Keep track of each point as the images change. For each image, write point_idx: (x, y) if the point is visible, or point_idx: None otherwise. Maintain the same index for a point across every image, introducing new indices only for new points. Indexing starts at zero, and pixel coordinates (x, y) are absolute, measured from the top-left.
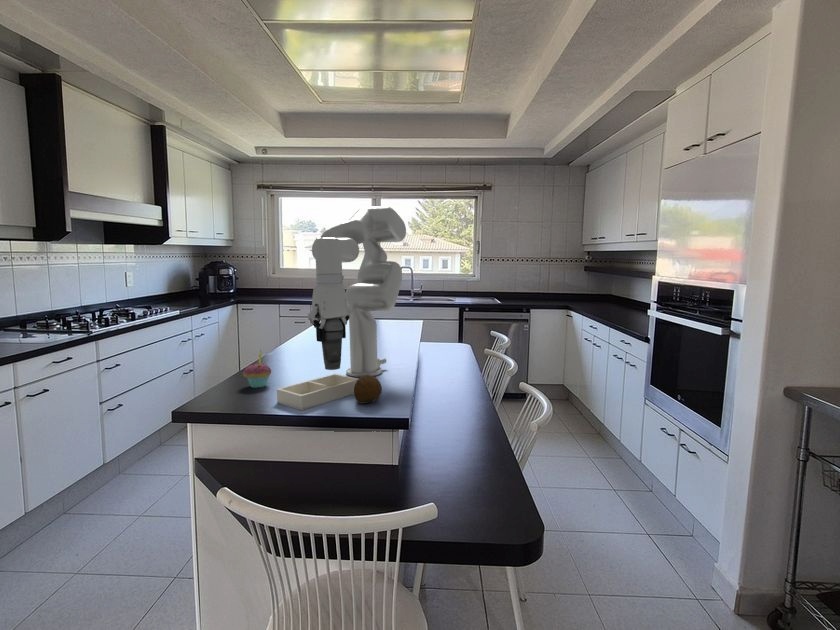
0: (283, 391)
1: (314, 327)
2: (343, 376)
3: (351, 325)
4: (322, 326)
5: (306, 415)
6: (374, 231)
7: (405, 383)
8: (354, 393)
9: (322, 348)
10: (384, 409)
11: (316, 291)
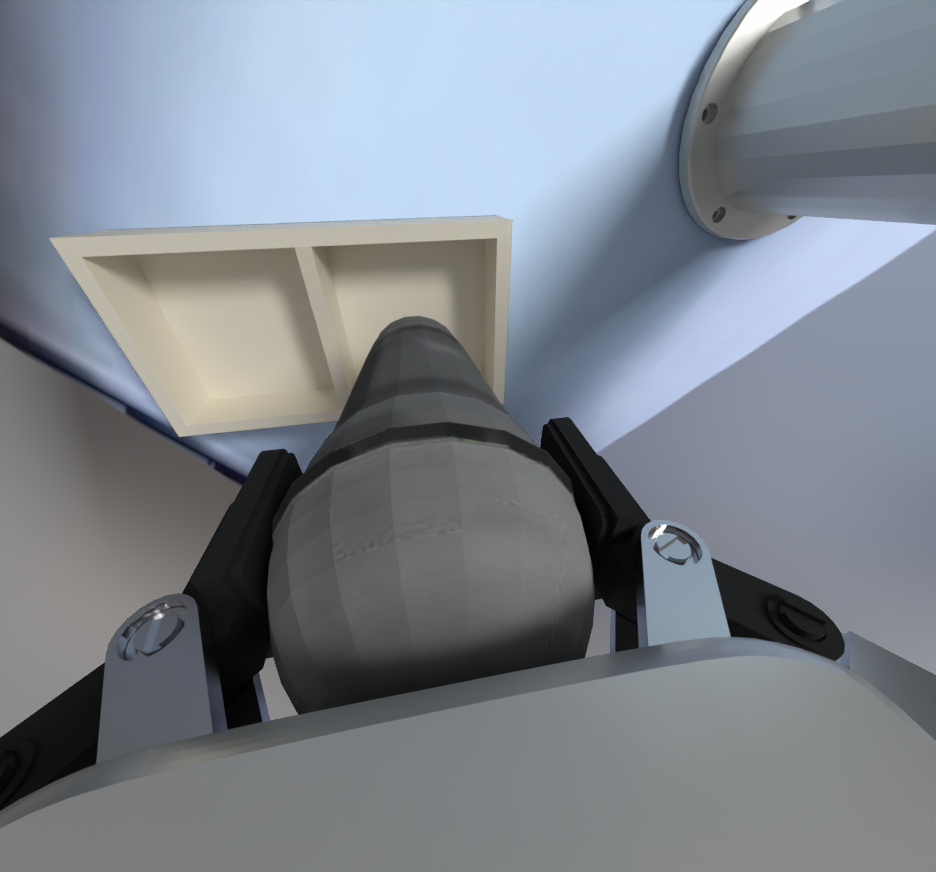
0: (99, 310)
1: (140, 608)
2: (495, 315)
3: None
4: (247, 680)
5: (209, 451)
6: None
7: (651, 410)
8: None
9: (345, 404)
10: None
11: None
